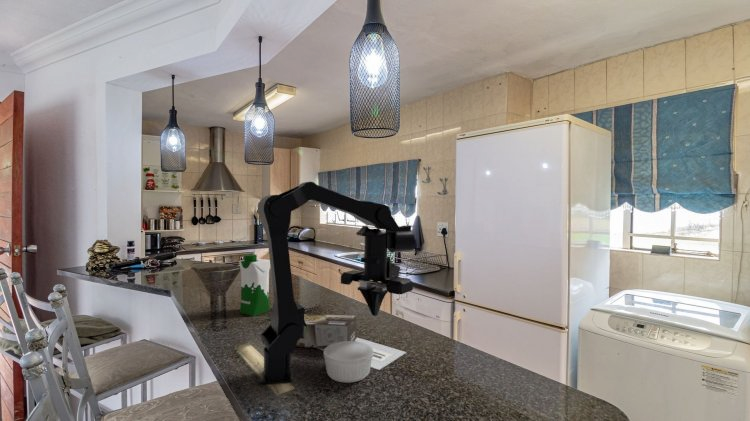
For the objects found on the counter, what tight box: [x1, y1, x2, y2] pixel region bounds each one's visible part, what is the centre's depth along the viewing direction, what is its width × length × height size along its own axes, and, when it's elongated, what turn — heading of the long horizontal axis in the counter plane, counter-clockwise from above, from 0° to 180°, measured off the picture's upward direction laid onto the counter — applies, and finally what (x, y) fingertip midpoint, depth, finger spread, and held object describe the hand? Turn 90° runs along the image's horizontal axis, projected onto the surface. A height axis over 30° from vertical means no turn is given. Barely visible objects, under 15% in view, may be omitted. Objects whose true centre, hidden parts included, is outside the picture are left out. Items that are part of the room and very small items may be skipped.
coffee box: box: [296, 313, 358, 349], centre depth 96 cm, size 9×6×16 cm
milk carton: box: [238, 253, 271, 317], centre depth 123 cm, size 9×9×20 cm
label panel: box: [316, 337, 407, 371], centre depth 92 cm, size 22×12×1 cm, turn 54°
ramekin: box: [322, 341, 373, 383], centre depth 79 cm, size 11×11×5 cm
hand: (374, 315), depth 89 cm, fingers closed
